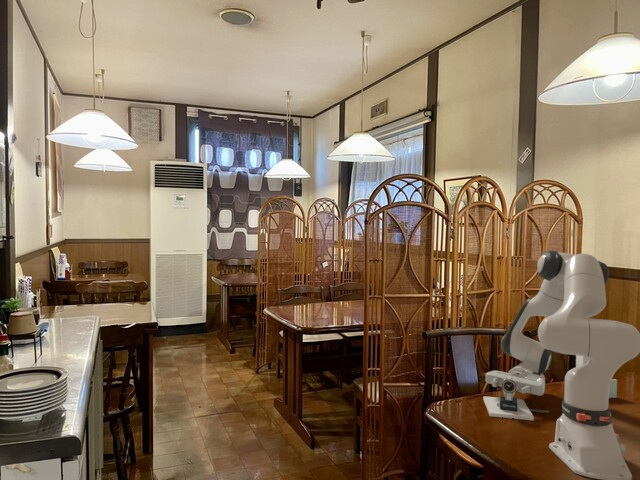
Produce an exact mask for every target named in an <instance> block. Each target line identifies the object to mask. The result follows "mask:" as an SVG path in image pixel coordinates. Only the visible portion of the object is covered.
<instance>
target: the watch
mask: <svg viewBox="0 0 640 480" xmlns="http://www.w3.org/2000/svg"><path fill="white" fill-rule="evenodd" d="M516 389H518V387H517V385H516V383H515V381H514V379H513V378H512V377H507V376H505V378H504V381H503V382H502V386H501V390H502V392H503V395H504V396H499V398H500V409H502V410H509V411H516V412H517V399H518V398H516V397H514V396H515V394H516V391H517V390H516Z"/></svg>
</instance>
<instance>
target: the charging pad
mask: <svg viewBox="0 0 640 480" xmlns="http://www.w3.org/2000/svg"><path fill="white" fill-rule="evenodd" d="M482 400H483V402H484V404H485V407H486V409H487V410H486V411H487V412H488V415H489V417H494V418H502V417H503V418H502V419H512V418H514V420H523V421H524V420H525V421H535V416H534V415H533V413H542V414H543V413H544V414H549V413H550V411H549V410H545V409H544V410H543V409H542V410H541V409H534V408H533V409H532V408H529V407H528V405H527V404H526V402H525V400H524V399H519V398H517V412H516V411H509V410H502V409H500V397H494V396H483V399H482ZM532 412H533V413H532Z"/></svg>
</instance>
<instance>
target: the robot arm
mask: <svg viewBox="0 0 640 480" xmlns="http://www.w3.org/2000/svg"><path fill="white" fill-rule="evenodd" d="M536 265H537V268H536V269H537V274H538V276H539V277H540V278H542V279H543V281H542V282H541V286H540V289H539V291H538V292H537V294H536V295H535V296H533V297H529V298H528V299H526V301H525V302H524V303H523V304H522V306H521V307H520V309H519V311H518V312H517V314H516V316H515V318H514V320H513V322H512V323H511V325H510V327H509V328H508V330H507V332H506V333H505V334H504V336H503V337H502V339H501V341H500V347H501V350H502V351H503V354H505V355H506V356H510V357H511V358H515V359H517V360H519V361H521V362H520V363H519V364H518V365H516V366H514V367H513V368H511V369H510V370H509V371H507V372H505V371H500V370H490V371H488V372H487V373H485V382H486V383H487V384H489V385H491V386H492V387H493V388H497V387H502V382H503V381H504V378H505V376H507V377H512V378H513V379H514V381H515V383H516V385H517V387H518V389H516V391H517V392H518V393H520V394H530V395H535V396H543V395H544V394H545V390H546V389H545V388H546V377H545V375H544V373H546V372H547V371H548V369H549V368H550V366H551V363H552V360H553V354H552V352H554V353H558V354H562V355H570V356H576V355H578V356H587V357H590V359H589V361H588V362H587V363H586V364H584V365H582V366H579V367H576V366H575V367H573V368H571V369H570V370H567V372H566V374H565V375H564V389H563V390H564V393H563V394H564V397H563V398H562V402H561V407H562V409H561V411H562V415H560V416H559V418H557V419H556V423H555V424H556V425H555V434H554V435H555V436H554V442H553V441H552V442H550V443H549V445H548V448H549V449H550V451H552V452H553V453H554V455H556V456H557V457H558V459H560V460H561V461H562V462H563V464H565V465H566V466H567V467H568V468H569V469H570V470H571V471H572V472H573V473H574V474H578V475H580V476H583V477H587V478H591V479H597V480H633V475H632V473H631V470H630V468H629V467H628V463H627V462H626V460H625V458H624V456H623V454H625V453H626V446H625V445H626V444H625V443H620V442H618V440H619V439H620V438H619V433H616V432H615V430H614V425H613V424H612V412H611V408H610V406H609V400H610V398H609V390H610V383H611V380H612V379H613V378H614V375H615V373H616V372H617V371H618V370H619V369H620V368H621V367H622V366H623V365H624V364H625V363H627V362H629V361H631V360H634V359H635V358H637V356H638V355H639V354H640V332H639V330H638V329H637V327H636V326H634V325H633V324H630V323H626V322H623V321H618V320H613V319H602V318H601V319H600V318H591V317H595V316H597V315H598V314H600V313H601V312H602V311H603V310H604V309H605V307H606V306H607V296H606V295H607V293H606V285H607V284H608V281H609V277H610V271H609V270H610V269H609V268H608V266H607V264H606V263H605V262H602V261H600V260H598V259H597V258H596V257H595V256H593V255H591V254H589V253H577V254H574V253H569V252H558V251H556V250H546V251H545V252H543V253H542V254H541V255H540V257H539V259H538V260H537V263H536ZM532 317H545V318H544V319H542V321H541V322H540V324H539V326H538V329H537V337H538V340H539V341H537V340H535V339H533V338H530V337H529V336H527V335H524V334H523V332H522V331H523V329H524V328H525V326H526V324H527V323H528V321H529V319H530V318H532Z"/></svg>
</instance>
